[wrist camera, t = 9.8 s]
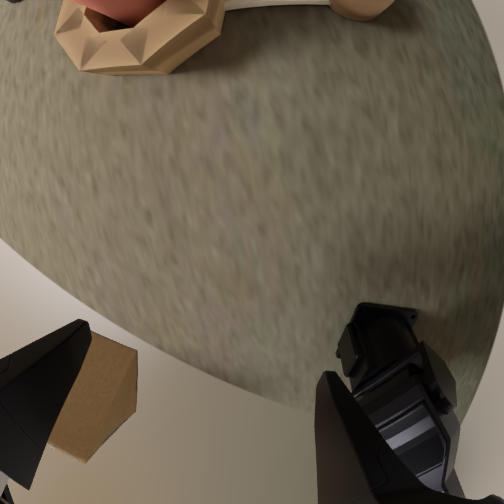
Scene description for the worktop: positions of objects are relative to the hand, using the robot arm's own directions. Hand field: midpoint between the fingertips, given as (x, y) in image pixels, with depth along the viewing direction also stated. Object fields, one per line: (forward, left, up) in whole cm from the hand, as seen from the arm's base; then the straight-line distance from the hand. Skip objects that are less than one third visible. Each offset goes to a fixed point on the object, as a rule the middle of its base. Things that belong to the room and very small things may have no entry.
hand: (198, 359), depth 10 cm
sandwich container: (+14, +23, -13) cm, 30 cm away
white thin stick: (0, -17, -13) cm, 21 cm away
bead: (+9, -16, -13) cm, 22 cm away
